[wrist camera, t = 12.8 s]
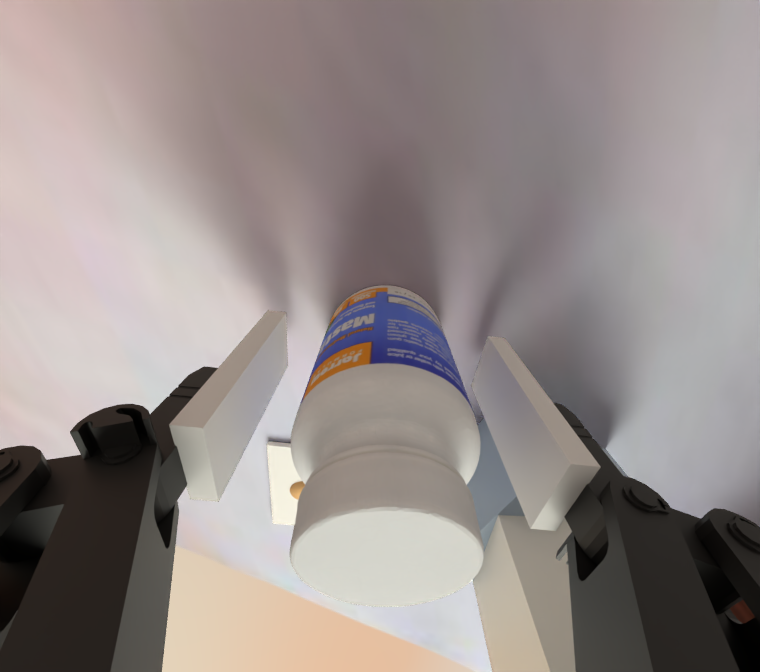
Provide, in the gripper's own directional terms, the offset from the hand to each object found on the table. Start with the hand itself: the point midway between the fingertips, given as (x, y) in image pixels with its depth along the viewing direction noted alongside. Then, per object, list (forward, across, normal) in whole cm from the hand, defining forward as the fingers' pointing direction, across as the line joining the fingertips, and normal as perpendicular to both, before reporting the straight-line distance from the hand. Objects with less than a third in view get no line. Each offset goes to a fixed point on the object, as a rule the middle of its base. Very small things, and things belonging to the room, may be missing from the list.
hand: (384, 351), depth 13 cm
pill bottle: (+2, 0, 0) cm, 2 cm away
